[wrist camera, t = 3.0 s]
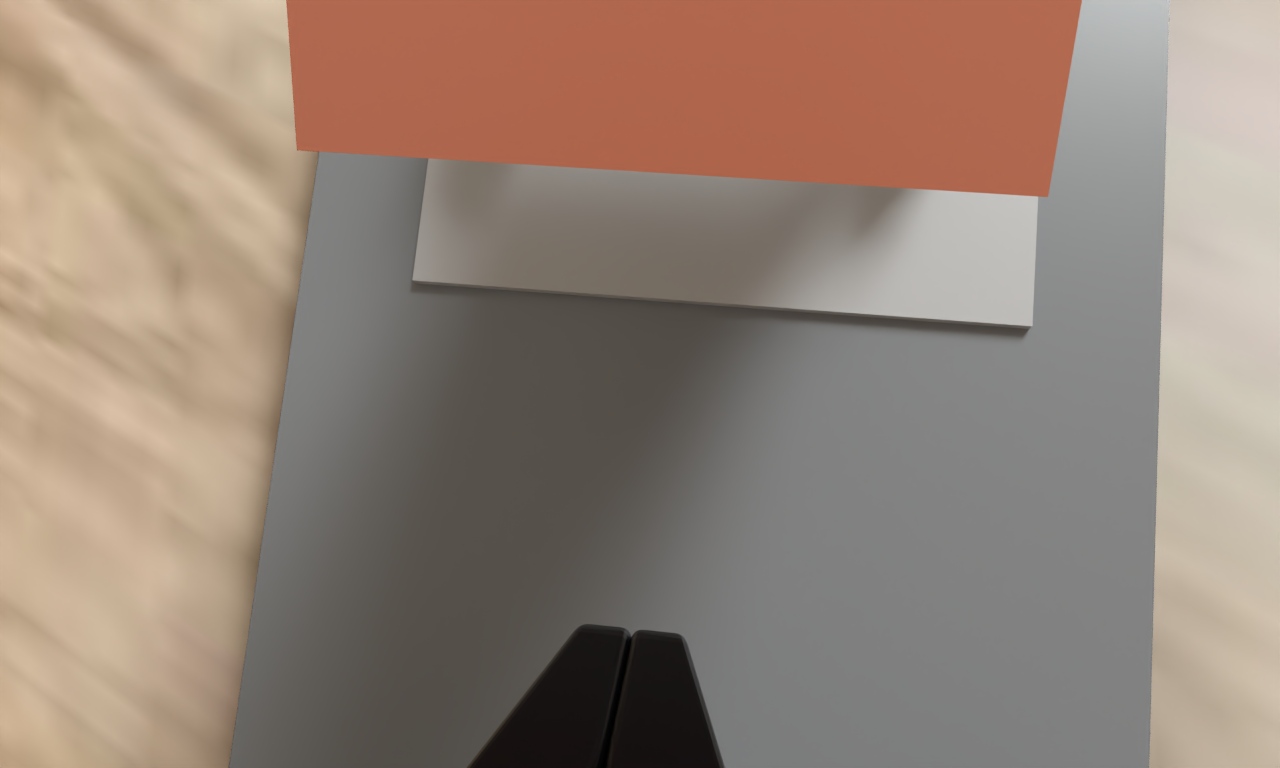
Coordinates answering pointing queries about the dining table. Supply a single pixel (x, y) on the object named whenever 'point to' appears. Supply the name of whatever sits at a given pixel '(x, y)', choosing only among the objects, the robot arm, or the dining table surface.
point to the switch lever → (696, 86)
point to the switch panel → (729, 450)
